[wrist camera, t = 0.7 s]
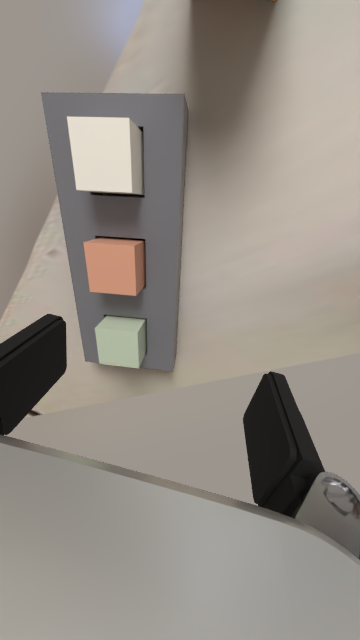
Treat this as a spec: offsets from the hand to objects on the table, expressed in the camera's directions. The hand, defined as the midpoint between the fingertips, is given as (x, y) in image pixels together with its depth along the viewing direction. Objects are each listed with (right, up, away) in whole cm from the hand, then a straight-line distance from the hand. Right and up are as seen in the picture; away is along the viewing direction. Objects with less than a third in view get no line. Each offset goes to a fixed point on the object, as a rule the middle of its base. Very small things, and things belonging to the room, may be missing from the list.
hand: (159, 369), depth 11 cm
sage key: (-7, +1, +24) cm, 25 cm away
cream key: (-6, +19, +15) cm, 25 cm away
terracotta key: (-6, +10, +20) cm, 23 cm away
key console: (-6, +11, +22) cm, 25 cm away
